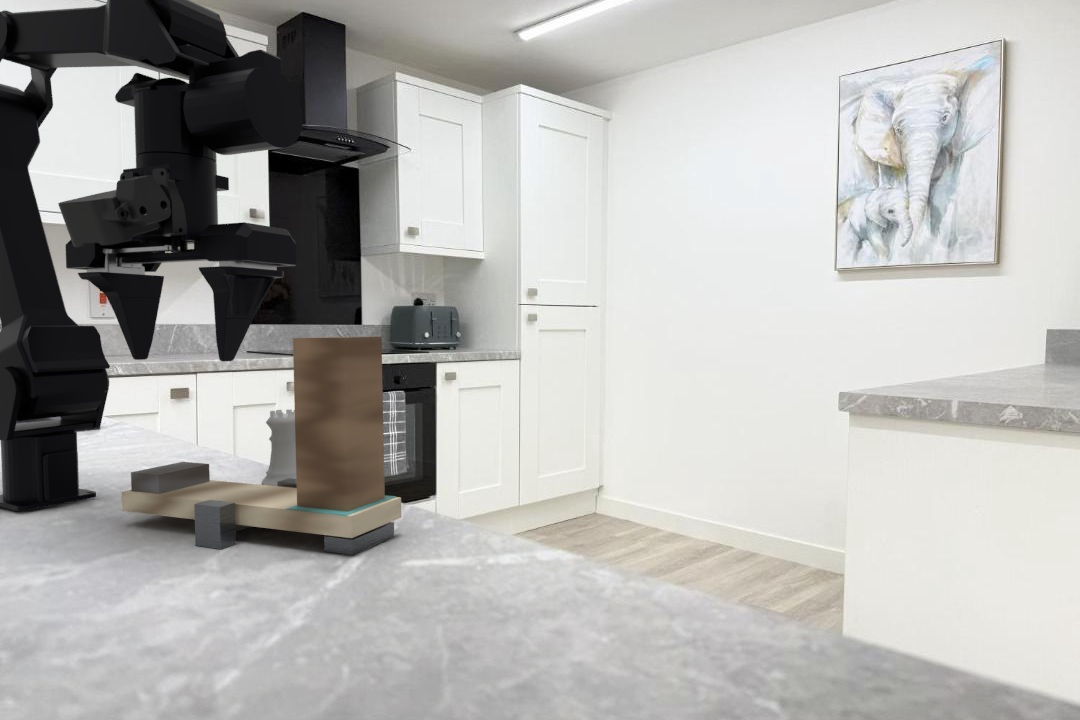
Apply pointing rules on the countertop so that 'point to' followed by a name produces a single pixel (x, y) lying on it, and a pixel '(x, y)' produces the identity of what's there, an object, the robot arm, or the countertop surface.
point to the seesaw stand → (220, 530)
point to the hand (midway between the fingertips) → (182, 360)
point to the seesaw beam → (247, 502)
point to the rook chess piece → (281, 447)
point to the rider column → (338, 422)
